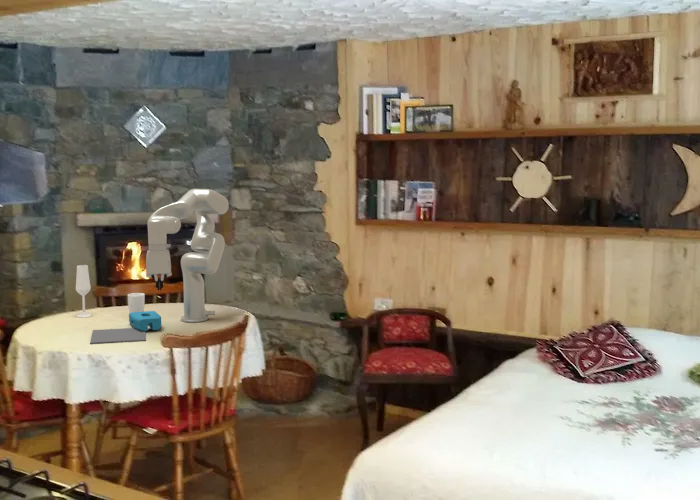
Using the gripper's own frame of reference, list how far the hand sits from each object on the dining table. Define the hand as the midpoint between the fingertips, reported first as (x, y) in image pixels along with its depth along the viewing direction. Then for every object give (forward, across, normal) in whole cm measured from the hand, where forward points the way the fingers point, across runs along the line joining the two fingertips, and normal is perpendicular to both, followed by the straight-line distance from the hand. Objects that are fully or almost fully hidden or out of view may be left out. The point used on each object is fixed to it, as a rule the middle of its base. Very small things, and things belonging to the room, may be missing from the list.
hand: (159, 289), depth 326 cm
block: (+16, +5, -2) cm, 17 cm away
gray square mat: (+19, +18, +2) cm, 26 cm away
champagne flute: (+20, +35, -42) cm, 58 cm away
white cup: (+20, +11, -38) cm, 45 cm away
